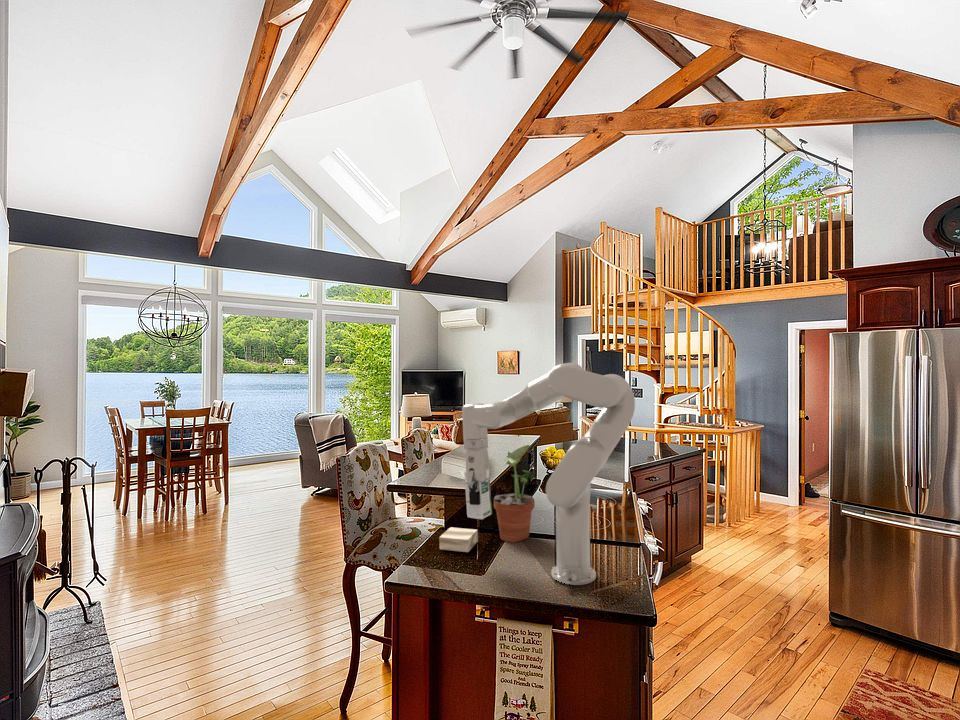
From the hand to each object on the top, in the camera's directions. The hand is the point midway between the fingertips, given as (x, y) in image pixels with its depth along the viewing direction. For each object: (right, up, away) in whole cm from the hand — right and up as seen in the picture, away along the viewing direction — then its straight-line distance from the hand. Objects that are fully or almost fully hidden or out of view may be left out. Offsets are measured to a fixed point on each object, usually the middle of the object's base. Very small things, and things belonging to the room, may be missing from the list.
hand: (478, 500), depth 162 cm
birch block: (-7, -18, +13) cm, 24 cm away
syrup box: (0, -5, 0) cm, 5 cm away
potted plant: (+13, -18, +21) cm, 30 cm away
